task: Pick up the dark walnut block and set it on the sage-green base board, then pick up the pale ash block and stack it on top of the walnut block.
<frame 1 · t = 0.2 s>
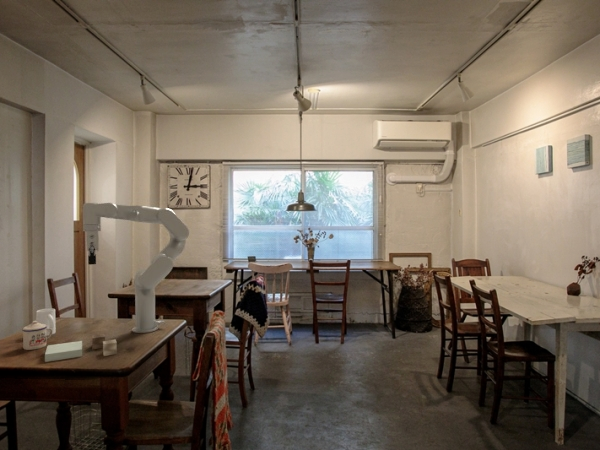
hand: (92, 263, 188), 36 cm above the table, tool pointing down, fingers open, 9 cm apart
mug: (47, 335, 194), on the table
teacup with lid: (38, 346, 176), on the table
base board: (64, 354, 165), on the table
ash block: (109, 353, 166), on the table
walnut block: (98, 346, 174), on the table
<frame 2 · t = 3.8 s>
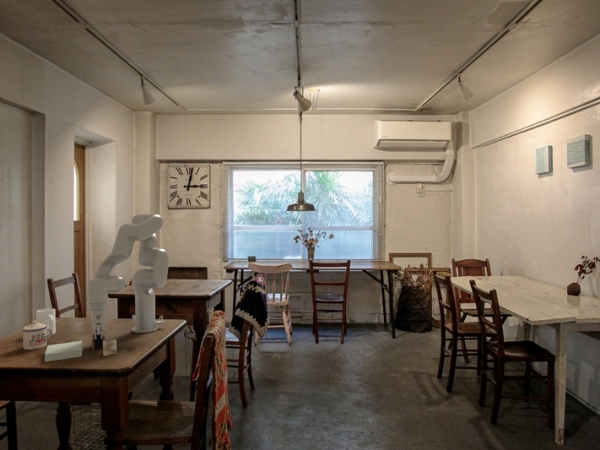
hand: (98, 345, 174), 0 cm above the table, tool pointing down, fingers closed on walnut block, 5 cm apart
walnut block: (98, 346, 174), on the table, touching gripper
everything else where it was.
when the fingers open (5 cm above the table, at t = 9.4 s): walnut block drops 1 cm, resting on base board.
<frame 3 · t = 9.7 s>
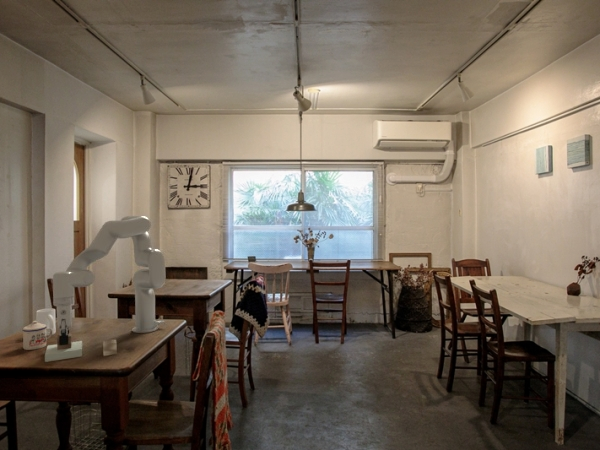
hand: (64, 341, 165), 5 cm above the table, tool pointing down, fingers open, 7 cm apart
walnut block: (64, 347, 165), point 3 cm above the table, touching base board
everything else where it was.
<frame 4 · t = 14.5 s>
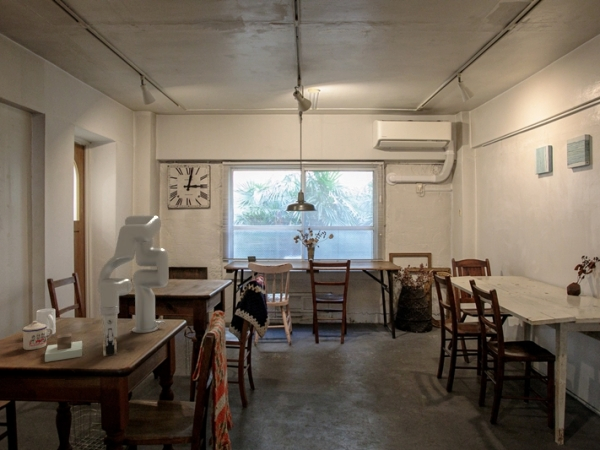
hand: (109, 352, 166), 0 cm above the table, tool pointing down, fingers closed on ash block, 5 cm apart
ash block: (109, 353, 166), on the table, touching gripper
everything else where it was.
when the fingers open (10 cm above the table, at t = 20.2 s): ash block drops 1 cm, resting on walnut block.
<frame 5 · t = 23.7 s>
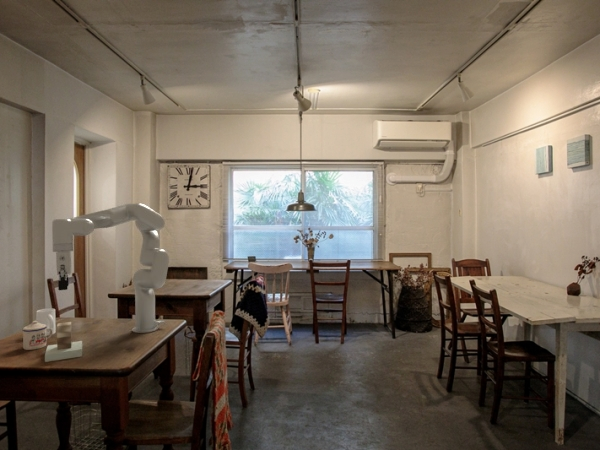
hand: (63, 288, 164), 28 cm above the table, tool pointing down, fingers open, 9 cm apart
ash block: (64, 335, 165), point 8 cm above the table, touching walnut block
walnut block: (64, 347, 165), point 3 cm above the table, touching ash block, base board
everything else where it was.
at the end: walnut block 0.0 cm off-centre on the base board, point 3.0 cm above the base board's base; ash block inside the target area on the base board (0.1 cm from its centre), point 8.0 cm above the base board's base; ash block tilted 0° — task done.
